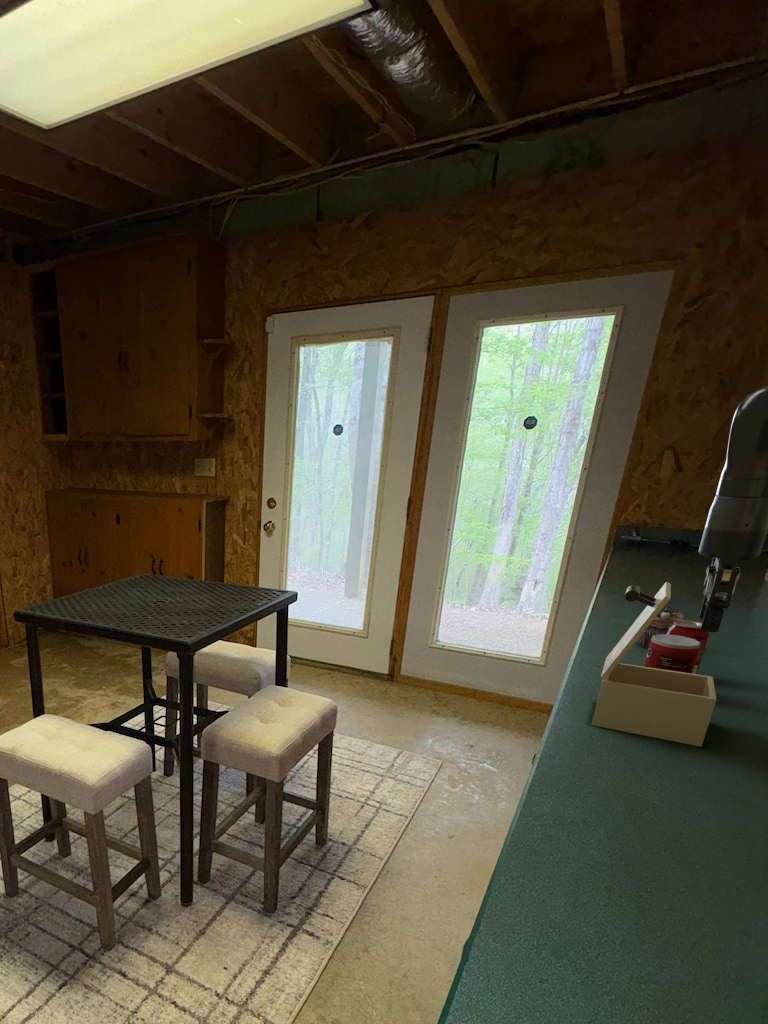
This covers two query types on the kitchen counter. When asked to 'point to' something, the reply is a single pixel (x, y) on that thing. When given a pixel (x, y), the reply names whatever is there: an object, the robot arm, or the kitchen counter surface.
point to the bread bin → (656, 703)
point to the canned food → (672, 653)
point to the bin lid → (637, 623)
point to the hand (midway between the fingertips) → (707, 625)
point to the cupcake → (660, 625)
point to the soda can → (691, 636)
